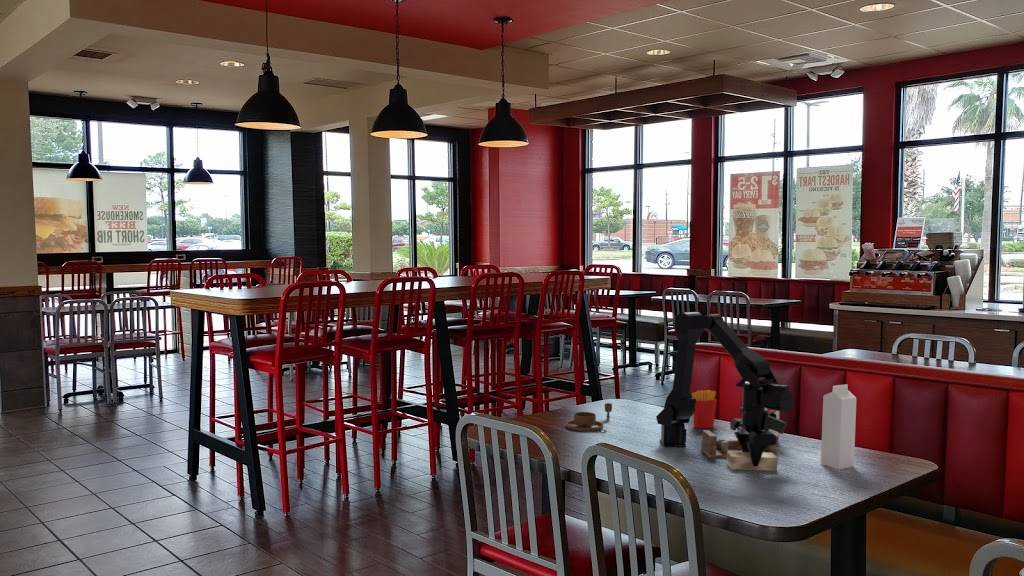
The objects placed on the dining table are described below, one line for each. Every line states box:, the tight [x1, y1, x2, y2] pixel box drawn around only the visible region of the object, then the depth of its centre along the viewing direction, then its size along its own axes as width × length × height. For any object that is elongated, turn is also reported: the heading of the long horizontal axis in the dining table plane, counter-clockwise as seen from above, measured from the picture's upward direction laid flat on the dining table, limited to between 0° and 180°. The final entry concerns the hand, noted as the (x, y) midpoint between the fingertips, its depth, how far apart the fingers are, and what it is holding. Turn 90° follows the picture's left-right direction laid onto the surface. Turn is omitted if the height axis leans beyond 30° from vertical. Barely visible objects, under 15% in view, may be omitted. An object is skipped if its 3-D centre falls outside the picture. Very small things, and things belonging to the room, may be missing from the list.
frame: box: [700, 429, 778, 459], centre depth 225 cm, size 19×8×6 cm, turn 94°
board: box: [726, 452, 778, 472], centre depth 212 cm, size 12×5×4 cm, turn 87°
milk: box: [820, 383, 857, 471], centre depth 214 cm, size 6×6×22 cm
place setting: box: [565, 402, 613, 433], centre depth 257 cm, size 18×20×6 cm
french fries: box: [691, 389, 718, 429], centre depth 258 cm, size 8×4×12 cm, turn 111°
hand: (751, 463), depth 213 cm, fingers open, 5 cm apart
